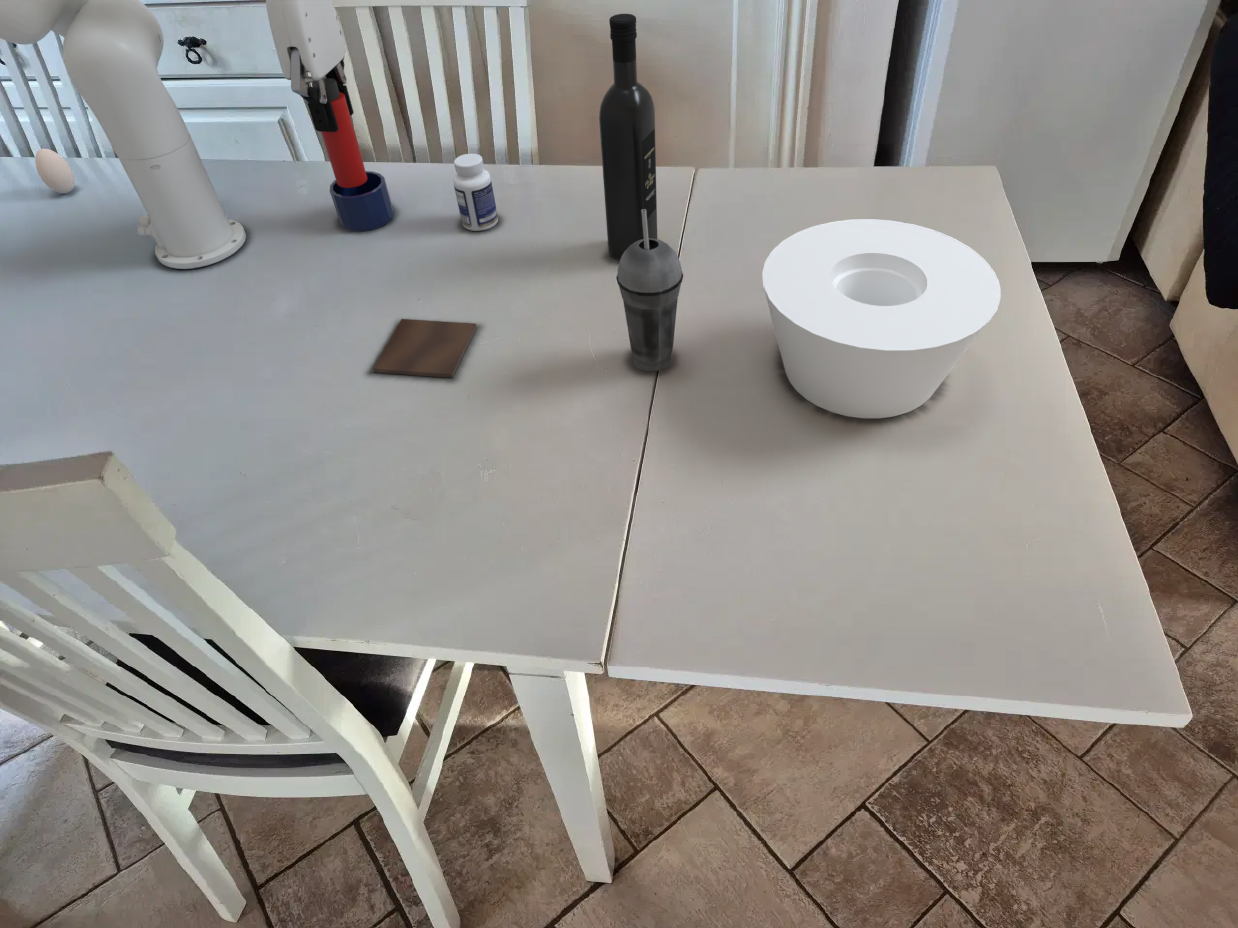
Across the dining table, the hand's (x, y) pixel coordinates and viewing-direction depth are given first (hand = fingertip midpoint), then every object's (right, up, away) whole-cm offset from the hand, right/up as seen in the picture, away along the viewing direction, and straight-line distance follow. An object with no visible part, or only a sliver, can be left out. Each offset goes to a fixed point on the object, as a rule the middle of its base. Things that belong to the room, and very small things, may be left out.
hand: (334, 121), depth 113 cm
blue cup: (+1, -10, +11) cm, 15 cm away
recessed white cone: (+67, -37, -19) cm, 79 cm away
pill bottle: (+19, -12, +8) cm, 24 cm away
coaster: (+16, -33, -13) cm, 39 cm away
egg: (-52, -3, +22) cm, 57 cm away
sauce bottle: (0, -6, +6) cm, 9 cm away
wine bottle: (+41, -18, 0) cm, 45 cm away
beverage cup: (+43, -35, -16) cm, 58 cm away
